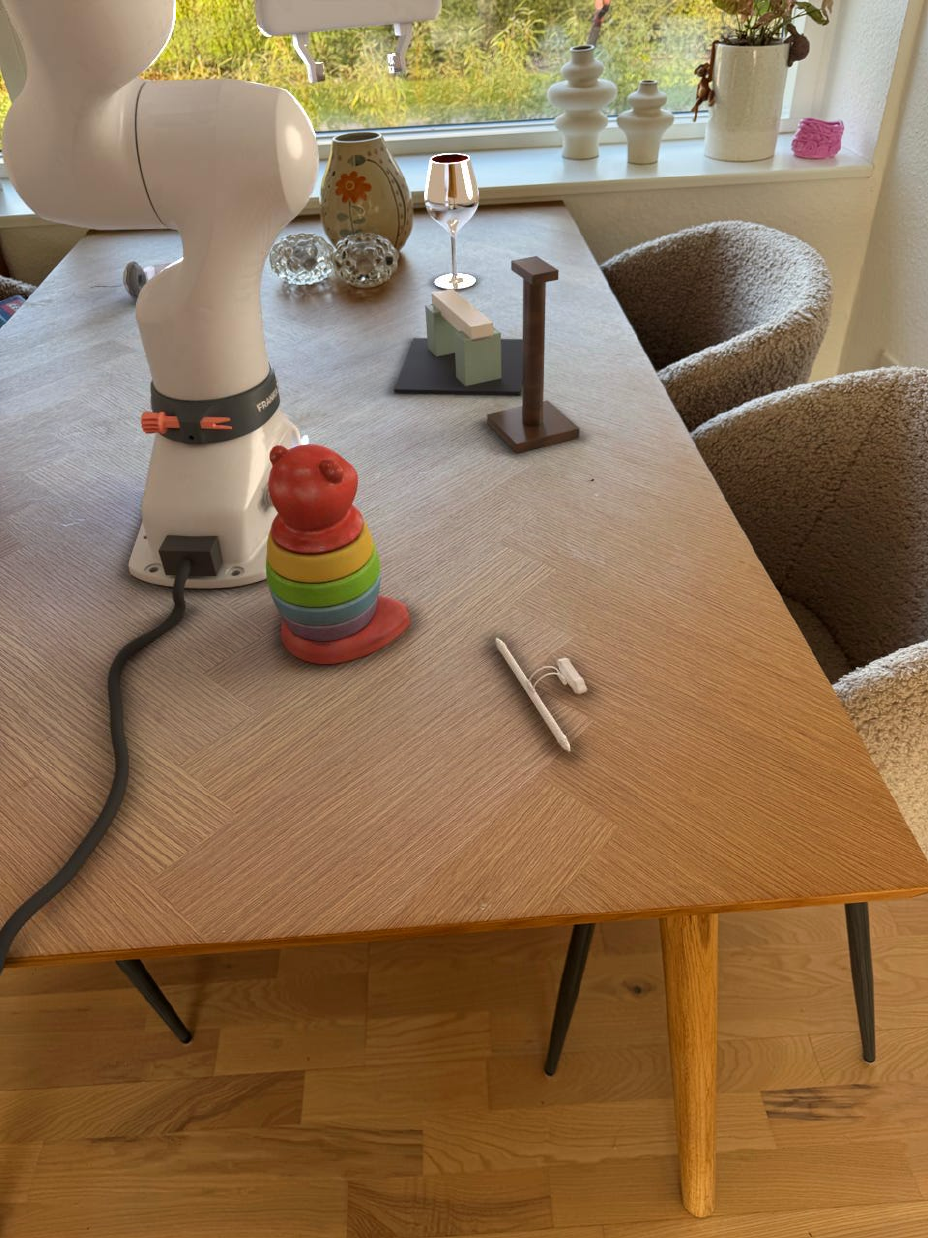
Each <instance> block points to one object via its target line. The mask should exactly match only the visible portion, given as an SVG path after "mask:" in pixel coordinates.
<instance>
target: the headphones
mask: <svg viewBox="0 0 928 1238" xmlns="http://www.w3.org/2000/svg"><path fill="white" fill-rule="evenodd" d="M173 263H174V262H167V263H159V264H154V265H148V266H146V267H144V268H143V267H142V266H141V265H140V264H139V263H137V262H136V261H133V260H131V261H129V262H128V263H126V266H125V268H124V270H123V273H122V284H121V285H120V287H122V286H124V289H125V291H126V292H127V293H128V295H129V297H130V298H131V299H132V300H134V301H137V298H138V296H139V293H140V291H141V289H142V288H143V286H144V285H145V284H146V283H147V282H148V281H149V280H150V279H151V278H152V277H153V276H155V275H156V274H157V273H159V272H160V271H161V270H163V269H164V268H166V267H168V266H169V265H171V264H173ZM99 287H100V288H101V287H103V288H108V286H106V285H105V286H104V285H96V286H91V287H90V288H89V290H92V289H93V288H99ZM117 287H118V285H115V286H110V288H117Z"/></svg>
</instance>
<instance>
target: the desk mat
mask: <svg viewBox="0 0 928 1238" xmlns="http://www.w3.org/2000/svg"><path fill="white" fill-rule="evenodd" d="M522 369H523V338H522V339H518V338H517V339H515V338H514V339H513V338H511V339H510V338H501V378H500V379H496V380H491V381H487V382H482V383H478V384H473V385H469V386H465V385H464V384H463V383H462V382H461V381H460V380H459V379H458V378H457V377H456V359H455V353H451V354H446V355H441V356H437V357H436V356H435V355H434V354H433V353H432V352H431V351H430V350H429V349H428V341H427V337H413V339H412V341H411V343H410V346H409V349H408V352H407V354H406V357H405V359H404V361H403V365H402V368H401V369H400V372H399V375H398V377H397V379H396V383H395V385H394V388H393V393H394V394H429V395H430V394H433V395H437V394H438V395H486V396H487V395H489V396H490V395H491V396H522Z"/></svg>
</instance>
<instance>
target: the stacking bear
mask: <svg viewBox="0 0 928 1238" xmlns="http://www.w3.org/2000/svg"><path fill="white" fill-rule="evenodd" d="M269 458H270V462H271V463H272V469H271V471H270V474H269V480H268V489H269V494H270V498H271V501H272V503H273V505H274V507H275V509H276V511H277V512H278V514H277V515H276V517H275V518H274V520H273V522H272V525H271V530H270V532H269V535H268V541H267V557H266V577H267V578H266V582H267V586H268V591H269V593H270V597H271V599H272V601H273V604H274V605H275V607H276V609H277V612H278V614H279V615H280V616H279V617H281V619H282V621H281V629H280V630H281V631H280V634H281V640H282V643H283V645H284V647H285V649H287V651H288V652H289V653H290V654H291V655H293V656H294V657H296V658H298V659H300V660H301V661H305V662H308V663H312V664H319V665H334V664H340V663H345V662H349V661H353V660H357V659H359V658H362V657H365V656H367V655H369V654H372V653H374V652H376V651H378V650H380V649H382V648H384V647H385V646H387V645H389V644H390V643H392V642H393V641H394V640H396V639H397V638H398V637H399V636H400V635H401V634H402V633H404V631H406V630H407V628H408V627H409V625H410V624H411V617H410V612H409V609H408V606H407V605H406V604H405V603H404V602H401V601H399V600H397V599H396V598H393V597H388V596H382V595H379V594H380V591H381V590H380V589H381V578H382V577H381V574H382V572H381V571H382V570H381V562H380V556H379V552H378V549H377V547H376V546H377V545H376V544H375V542H374V539H373V536H372V533H371V531H370V529H369V527H368V523H367V522H366V520H365V519H364V516H363V514H362V513H361V511H360V510H359V509H358V508H357V507H356V506H355V505H354V504H353V503H354V501H355V498H356V495H357V491H358V487H359V486H358V485H359V476H358V471H357V470H356V468H355V467H354V465H353V464H352V463H351V462H348V460H346V459H345V458H344V457H343V456H342V455H340V454H339V453H338V452H336V451H335V450H333V449H331V448H329V447H327V446H324V445H321V444H314V443H308V444H304V445H299V446H295V447H293V448H291V449H289V450H288V449H286V448H285V447H284V446H281V445H277V446H274V447H273V448H272V450H271V451H270V455H269Z"/></svg>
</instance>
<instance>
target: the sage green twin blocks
mask: <svg viewBox="0 0 928 1238" xmlns="http://www.w3.org/2000/svg"><path fill="white" fill-rule="evenodd" d="M424 309H425V323H426V324H425V325H426V338H427V341H428V349H429V350H430V351H431V352H432V353H433V354H434V355H435V356H436V357H437V356H441V355H446V354H451V353H455V359H456V377H457V378H458V379H459V380H460V381H461V382H462V383H463V384H464V385H465V386H469V385H473V384H478V383H482V382H487V381H491V380H496V379H500V378H501V339H502V332H501V331H499V330H498V329H497V328H496V327H495V326H494V322H493V321H492V320H490V319H489V318H488V316H486V315H485V314H484V313H482V312H481V311H480V310H479V309H477V307H475V305H473V304H471V303H470V302H469V301H468V300H467V299H466V298H464V297H463V295H461V294H460V293H458V292H457V291H456V290H453V289H442V290H439V291H432V292H431V303H430V304H425V306H424Z"/></svg>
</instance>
